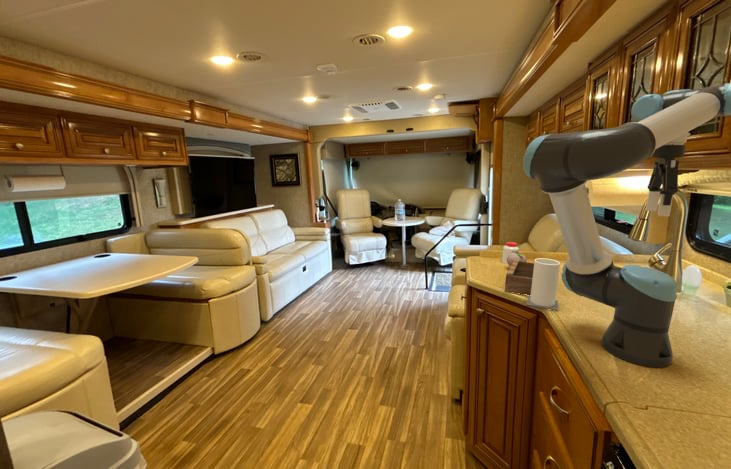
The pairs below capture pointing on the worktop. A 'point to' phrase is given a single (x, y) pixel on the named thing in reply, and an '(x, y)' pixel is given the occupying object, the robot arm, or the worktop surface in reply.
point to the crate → (519, 283)
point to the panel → (541, 306)
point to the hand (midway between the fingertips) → (656, 213)
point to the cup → (544, 282)
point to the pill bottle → (508, 250)
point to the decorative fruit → (515, 257)
